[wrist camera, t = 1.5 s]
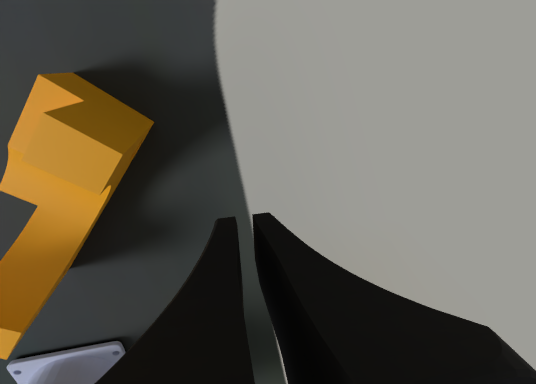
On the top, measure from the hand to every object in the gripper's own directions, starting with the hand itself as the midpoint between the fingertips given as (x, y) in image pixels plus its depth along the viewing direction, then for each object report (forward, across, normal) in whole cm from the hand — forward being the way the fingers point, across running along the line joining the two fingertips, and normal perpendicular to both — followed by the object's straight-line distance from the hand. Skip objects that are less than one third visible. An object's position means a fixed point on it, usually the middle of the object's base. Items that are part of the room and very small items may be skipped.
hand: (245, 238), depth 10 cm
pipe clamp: (+9, +10, 0) cm, 13 cm away
